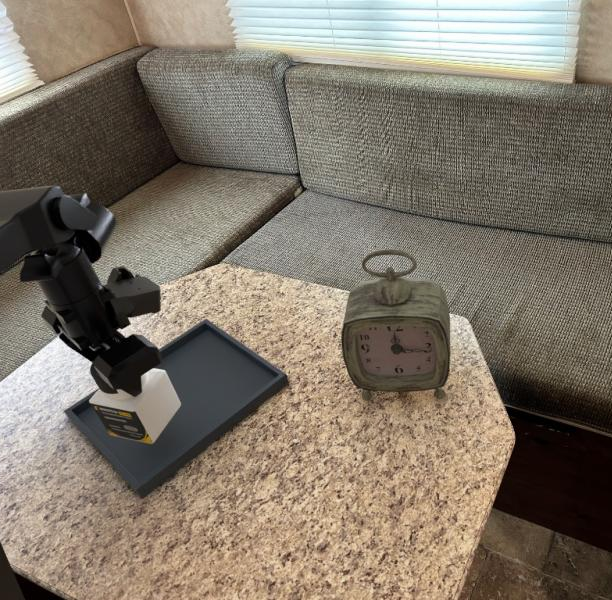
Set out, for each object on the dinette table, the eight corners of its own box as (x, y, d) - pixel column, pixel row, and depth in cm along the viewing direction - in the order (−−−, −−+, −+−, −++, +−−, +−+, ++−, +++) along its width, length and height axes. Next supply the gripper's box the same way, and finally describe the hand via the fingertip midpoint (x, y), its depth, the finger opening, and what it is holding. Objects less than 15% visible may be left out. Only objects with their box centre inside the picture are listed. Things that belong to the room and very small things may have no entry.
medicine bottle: (108, 435, 82) (70, 374, 74) (140, 396, 87) (107, 335, 79) (153, 445, 80) (118, 383, 72) (182, 404, 85) (153, 342, 77)
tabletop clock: (353, 408, 89) (325, 272, 73) (360, 363, 96) (335, 230, 80) (453, 407, 87) (445, 268, 71) (452, 362, 94) (445, 226, 78)
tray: (141, 499, 80) (136, 490, 79) (69, 419, 92) (63, 410, 91) (289, 383, 94) (286, 373, 92) (209, 327, 106) (206, 318, 104)
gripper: (179, 282, 68) (218, 378, 78) (100, 230, 78) (144, 321, 88) (85, 338, 62) (140, 433, 72) (14, 274, 72) (70, 365, 82)
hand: (125, 382), depth 79 cm, fingers closed on medicine bottle, 6 cm apart
